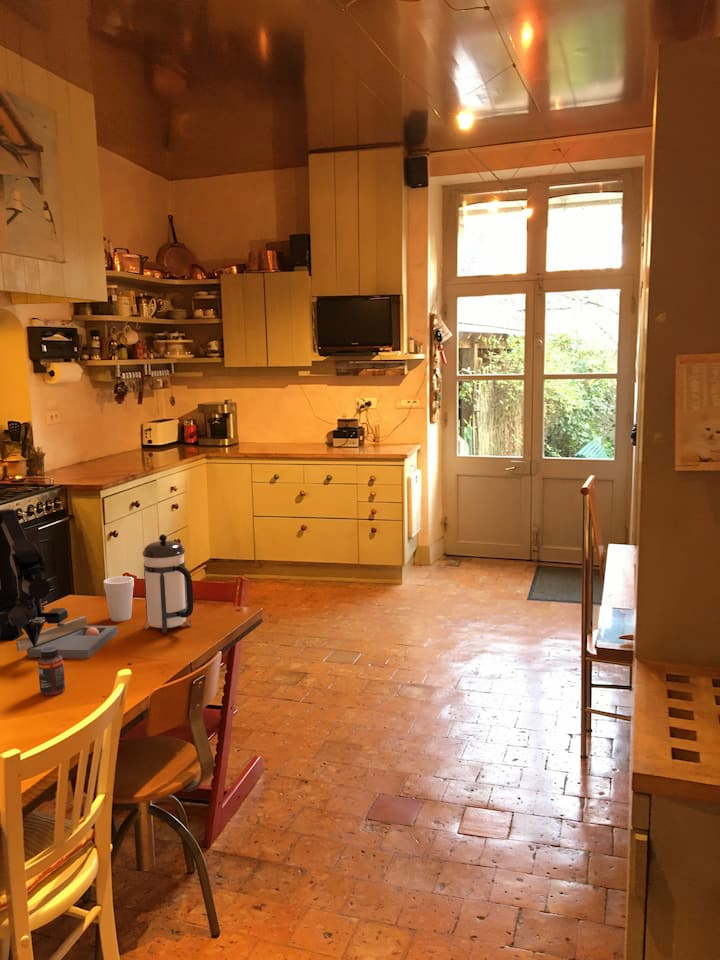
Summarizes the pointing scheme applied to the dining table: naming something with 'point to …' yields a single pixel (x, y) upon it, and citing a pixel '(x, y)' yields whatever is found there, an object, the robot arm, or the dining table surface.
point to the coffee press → (167, 585)
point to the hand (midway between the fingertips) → (34, 645)
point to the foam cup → (119, 597)
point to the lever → (53, 632)
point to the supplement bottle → (51, 672)
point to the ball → (92, 632)
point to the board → (77, 643)
